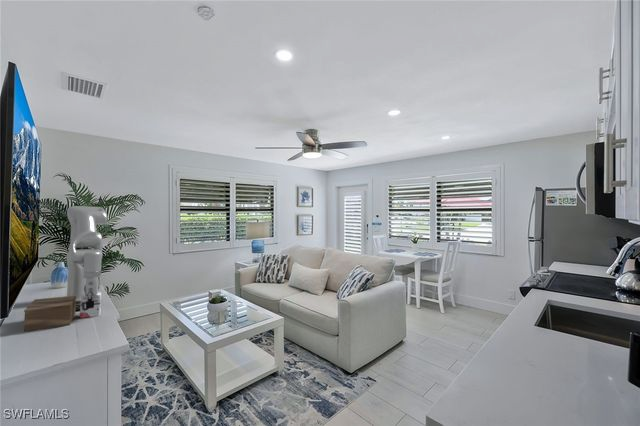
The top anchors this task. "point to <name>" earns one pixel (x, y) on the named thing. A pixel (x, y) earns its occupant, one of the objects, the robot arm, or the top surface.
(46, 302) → the brown wooden board
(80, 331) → the top surface
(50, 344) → the top surface
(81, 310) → the ink box
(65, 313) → the wooden box
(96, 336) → the top surface
